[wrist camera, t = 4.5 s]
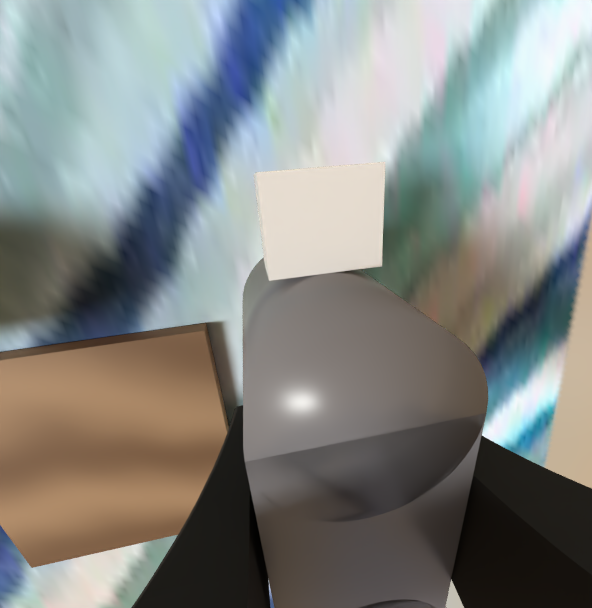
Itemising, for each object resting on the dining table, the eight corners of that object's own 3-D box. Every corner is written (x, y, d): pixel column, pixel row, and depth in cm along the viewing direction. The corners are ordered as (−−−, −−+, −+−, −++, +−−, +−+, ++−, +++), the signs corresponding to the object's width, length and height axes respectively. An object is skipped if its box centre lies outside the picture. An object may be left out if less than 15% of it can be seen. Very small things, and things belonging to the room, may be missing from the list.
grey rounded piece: (357, 472, 14) (433, 661, 8) (272, 491, 13) (294, 704, 8) (357, 168, 9) (544, 141, 3) (222, 179, 8) (184, 169, 3)
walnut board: (246, 505, 19) (246, 518, 18) (40, 551, 17) (31, 567, 17) (206, 323, 14) (204, 330, 13) (-88, 364, 12) (-109, 376, 12)
